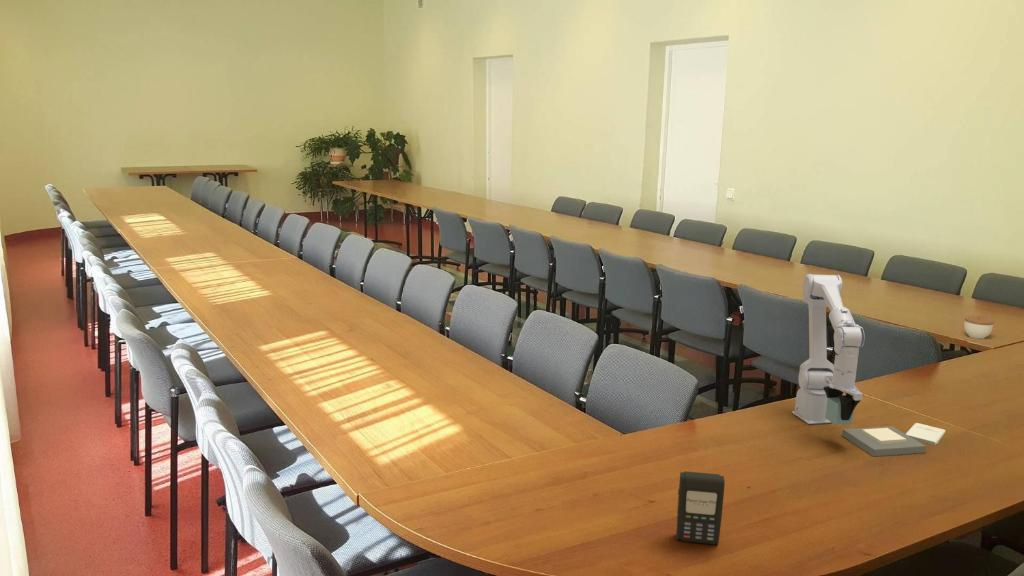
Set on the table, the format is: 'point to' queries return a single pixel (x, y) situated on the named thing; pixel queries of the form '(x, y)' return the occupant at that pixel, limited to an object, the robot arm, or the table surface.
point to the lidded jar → (978, 326)
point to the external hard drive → (926, 433)
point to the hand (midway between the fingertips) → (839, 415)
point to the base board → (883, 441)
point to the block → (835, 412)
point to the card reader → (700, 507)
